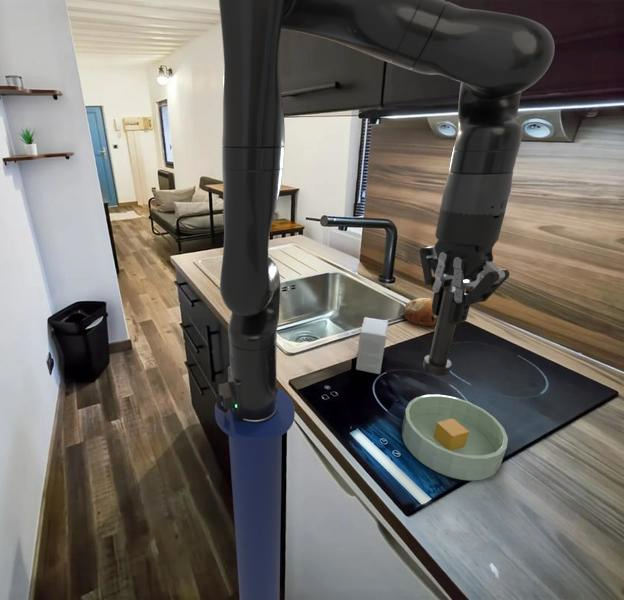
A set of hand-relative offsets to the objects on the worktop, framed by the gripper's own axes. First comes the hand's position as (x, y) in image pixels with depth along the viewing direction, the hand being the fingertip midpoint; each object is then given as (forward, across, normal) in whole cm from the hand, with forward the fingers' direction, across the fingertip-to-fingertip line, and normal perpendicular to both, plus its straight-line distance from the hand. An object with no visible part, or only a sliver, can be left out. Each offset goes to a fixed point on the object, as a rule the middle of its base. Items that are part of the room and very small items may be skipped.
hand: (447, 317), depth 57 cm
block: (+25, +3, +4) cm, 25 cm away
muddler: (+10, 0, 0) cm, 10 cm away
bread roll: (+25, -37, +34) cm, 56 cm away
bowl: (+25, +3, +4) cm, 26 cm away
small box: (+25, -23, +6) cm, 35 cm away
